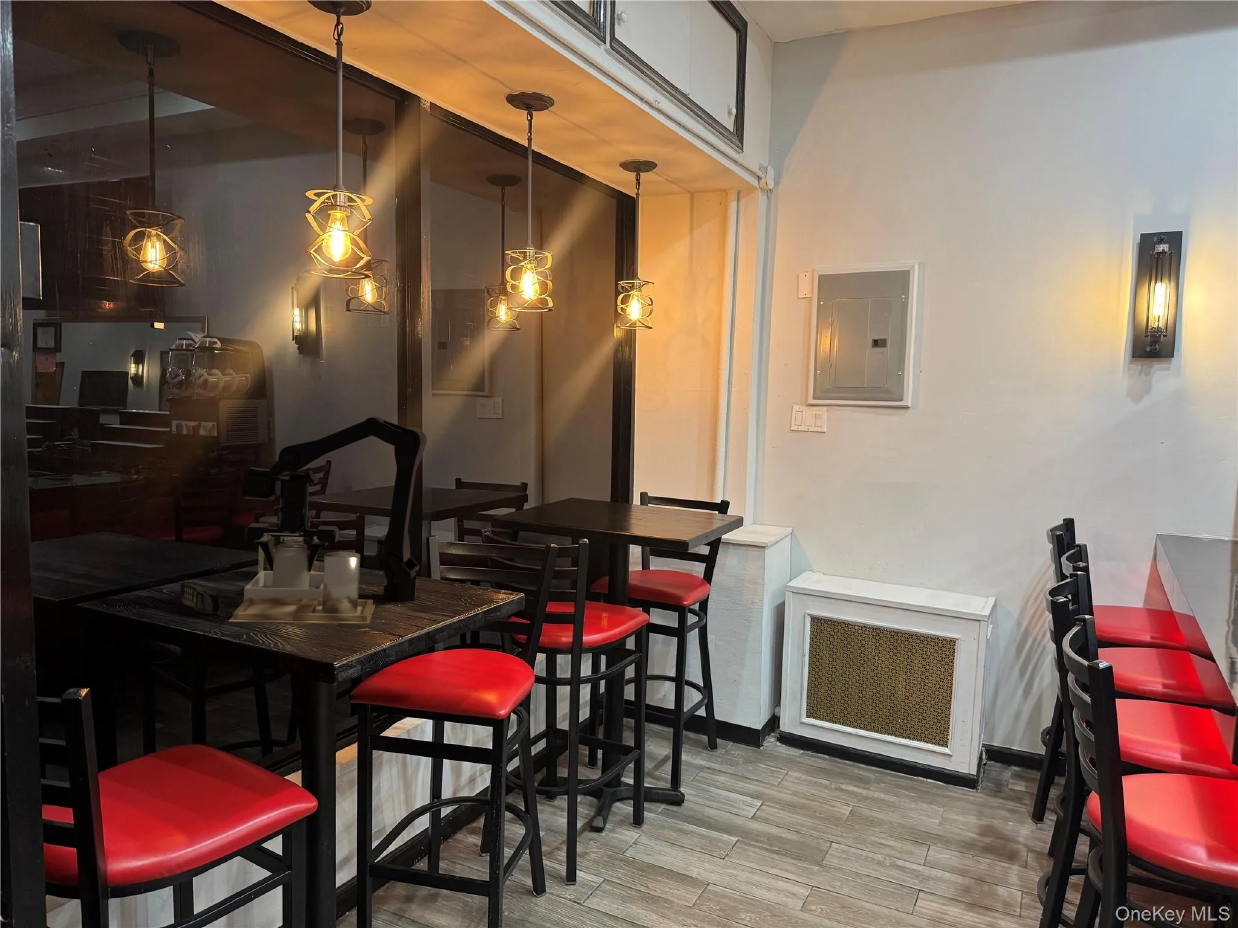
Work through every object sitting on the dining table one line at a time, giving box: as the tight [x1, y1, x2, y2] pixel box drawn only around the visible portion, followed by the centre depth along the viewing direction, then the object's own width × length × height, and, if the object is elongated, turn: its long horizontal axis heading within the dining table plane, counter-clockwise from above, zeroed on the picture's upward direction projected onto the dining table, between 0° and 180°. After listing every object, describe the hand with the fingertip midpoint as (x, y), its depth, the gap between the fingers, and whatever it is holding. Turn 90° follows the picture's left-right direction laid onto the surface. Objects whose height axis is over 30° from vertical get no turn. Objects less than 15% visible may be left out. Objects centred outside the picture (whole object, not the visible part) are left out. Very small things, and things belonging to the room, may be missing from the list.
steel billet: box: [322, 551, 361, 614], centre depth 166 cm, size 7×7×12 cm
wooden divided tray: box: [228, 597, 376, 624], centre depth 165 cm, size 26×14×3 cm, turn 102°
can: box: [271, 543, 311, 589], centre depth 179 cm, size 8×8×12 cm
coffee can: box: [257, 515, 305, 575], centre depth 197 cm, size 10×10×14 cm
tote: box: [243, 571, 323, 602], centre depth 179 cm, size 16×16×4 cm
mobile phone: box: [179, 581, 226, 618], centre depth 166 cm, size 5×3×15 cm
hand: (291, 571), depth 179 cm, fingers closed on can, 7 cm apart
